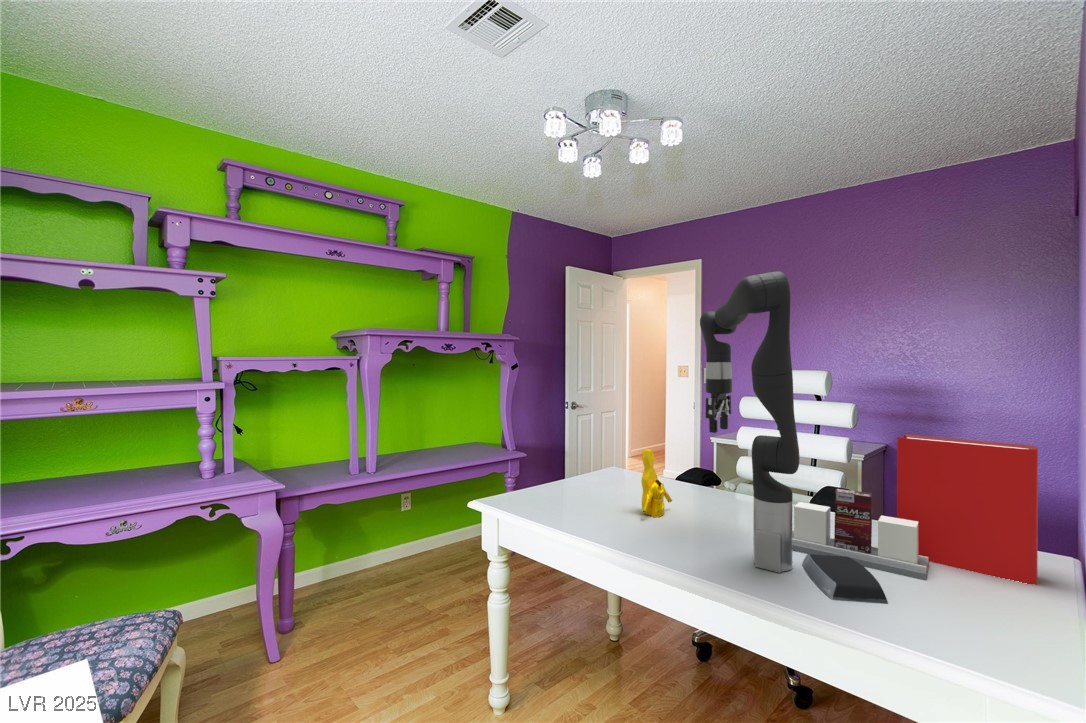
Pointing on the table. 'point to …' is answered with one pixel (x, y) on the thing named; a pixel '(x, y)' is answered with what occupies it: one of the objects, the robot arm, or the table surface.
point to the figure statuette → (652, 488)
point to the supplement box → (853, 521)
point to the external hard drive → (843, 579)
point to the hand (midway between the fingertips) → (718, 430)
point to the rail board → (890, 555)
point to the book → (972, 503)
